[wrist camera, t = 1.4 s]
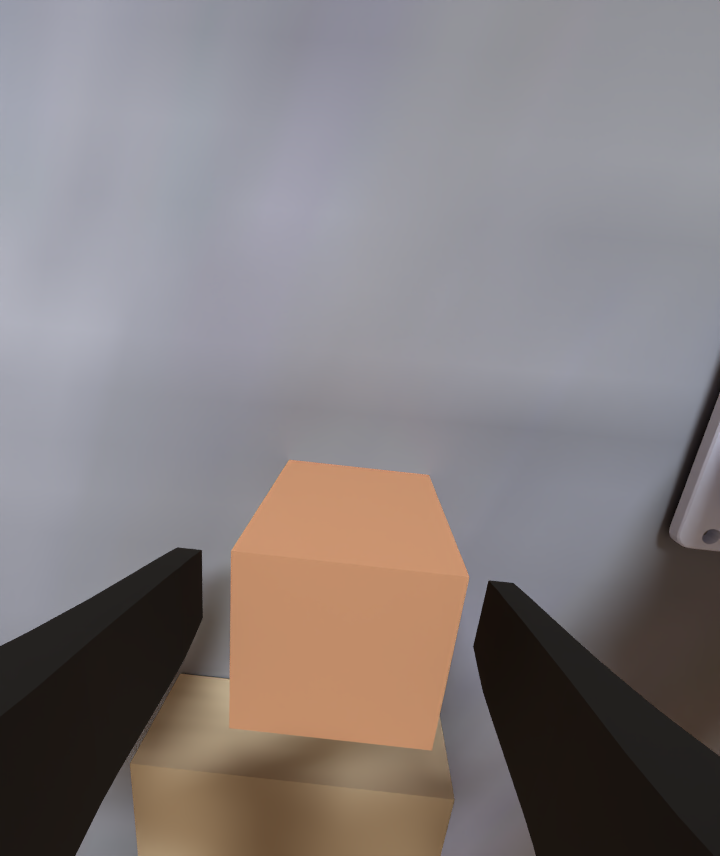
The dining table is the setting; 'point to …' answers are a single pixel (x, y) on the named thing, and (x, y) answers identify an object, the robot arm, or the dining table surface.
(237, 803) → the riser
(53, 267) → the dining table surface
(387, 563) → the block
